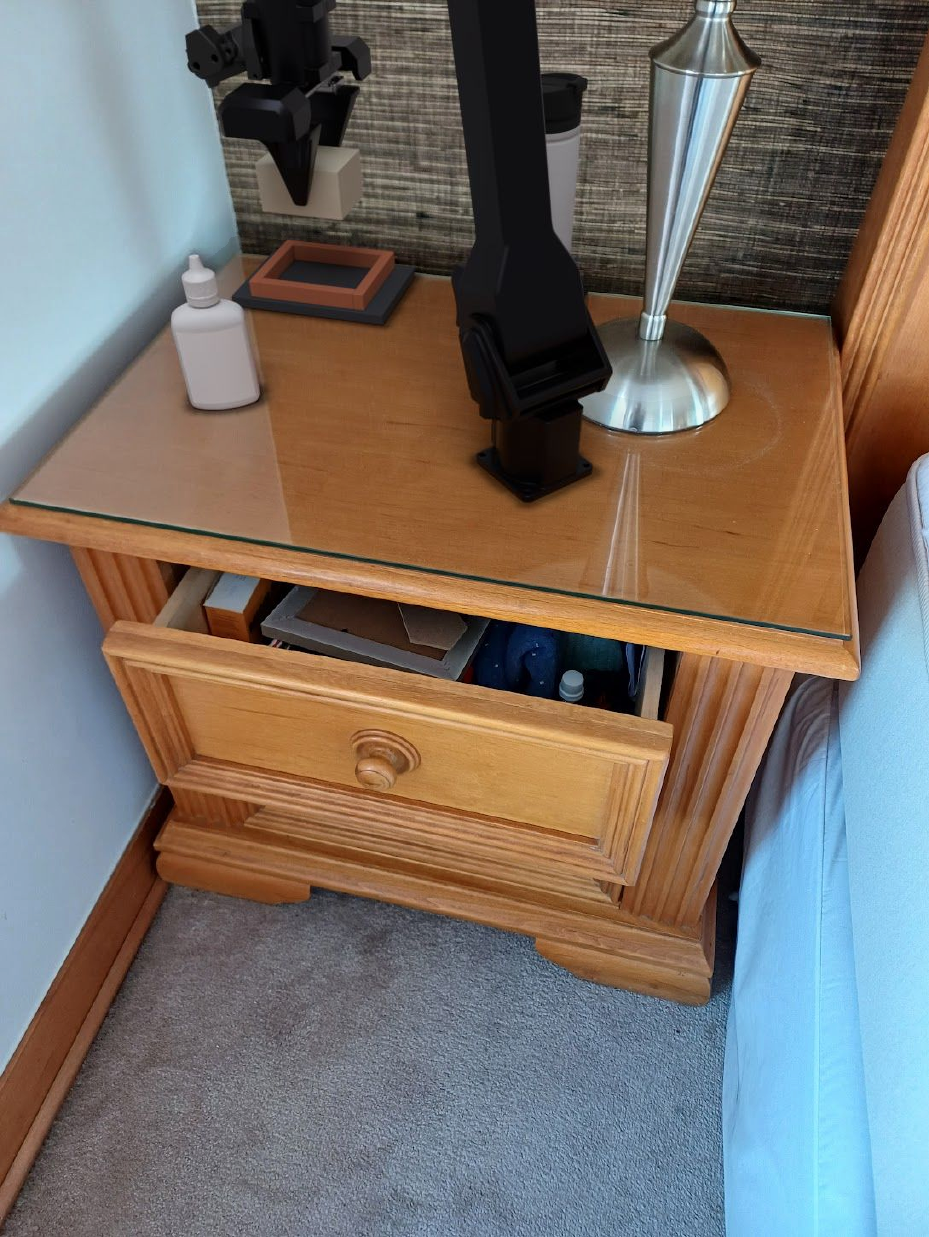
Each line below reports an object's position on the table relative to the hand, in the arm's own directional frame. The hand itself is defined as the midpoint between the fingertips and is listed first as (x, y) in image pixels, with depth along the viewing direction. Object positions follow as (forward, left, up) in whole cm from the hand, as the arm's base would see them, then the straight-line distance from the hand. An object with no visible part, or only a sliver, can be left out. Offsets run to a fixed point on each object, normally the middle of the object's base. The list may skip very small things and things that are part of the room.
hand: (313, 192), depth 80 cm
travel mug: (-15, -13, -10) cm, 23 cm away
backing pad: (0, 0, -10) cm, 10 cm away
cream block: (0, 0, -1) cm, 1 cm away
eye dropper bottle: (-11, +16, -10) cm, 22 cm away
